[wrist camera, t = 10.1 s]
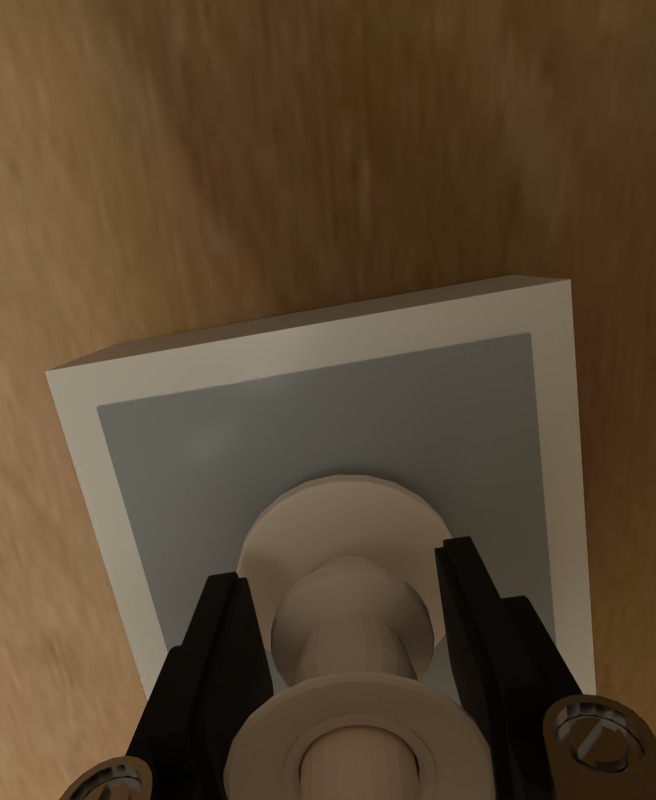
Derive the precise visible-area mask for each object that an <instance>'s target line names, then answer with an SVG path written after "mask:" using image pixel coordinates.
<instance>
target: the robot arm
mask: <svg viewBox="0 0 656 800" xmlns="http://www.w3.org/2000/svg"><path fill="white" fill-rule="evenodd" d="M434 552H435V560H436V567H437V574H438V581H439V589H440V596H441V603H442V610H443V617H444V624H445V632H446V639H447V646H448V653H449V660H450V665H451V670H452V674H453V678H454V681H455V685H456V688H457V691H458V695H459V698H460V702H461V705H462V708H463V709H464V710H465V711H466V712H467V713H468V714H469V715H470V716H472V717H473V718H474V719H475V721H476V723H477V724H478V726H479V728H480V729H481V731H482V733H483V734H484V736H485V738H486V739H487V741H488V743H489V746H490V752H491V760H492V768H493V776H494V784H495V792H496V798H495V800H656V737H655V736H654V734H653V732H652V731H651V729H650V728H649V726H648V725H647V723H646V722H645V721H644V720H643V719H642V718H641V717H640V716H638V715H637V714H636V713H635V712H634V711H633V710H631V709H629V708H628V707H626V706H624V705H623V704H621V703H619V702H617V701H614V700H611V699H608V698H605V697H602V696H597V695H588V694H583V693H582V691H581V689H580V687H579V686H578V684H577V682H576V681H575V679H574V677H573V675H572V674H571V672H570V670H569V668H568V667H567V665H566V663H565V661H564V660H563V658H562V656H561V654H560V653H559V651H558V649H557V647H556V646H555V644H554V642H553V640H552V639H551V637H550V635H549V633H548V632H547V630H546V628H545V626H544V625H543V623H542V621H541V619H540V618H539V616H538V614H537V613H536V611H535V609H534V607H533V606H532V604H531V602H530V601H529V599H528V598H527V597H526V596H525V595H521V596H515V597H508V598H501V597H500V595H499V593H498V591H497V589H496V587H495V585H494V583H493V581H492V579H491V577H490V575H489V573H488V571H487V569H486V567H485V565H484V563H483V561H482V559H481V557H480V555H479V553H478V551H477V549H476V547H475V545H474V543H473V541H472V539H471V537H470V536H465V537H458V538H452V539H445V540H443V547H440V548H435V549H434ZM273 696H274V691H273V682H272V678H271V674H270V669H269V665H268V661H267V657H266V653H265V649H264V645H263V640H262V636H261V632H260V628H259V624H258V620H257V616H256V611H255V607H254V603H253V599H252V595H251V591H250V587H249V583H248V580H247V578H246V577H242V578H239V576H238V574H237V573H236V572H228V573H222V574H215V575H210V576H208V578H207V580H206V583H205V586H204V588H203V591H202V593H201V596H200V598H199V601H198V604H197V606H196V609H195V611H194V614H193V616H192V619H191V622H190V624H189V627H188V629H187V632H186V634H185V637H184V639H183V642H182V645H178V646H174V647H172V648H171V649H170V651H169V652H168V654H167V657H166V659H165V661H164V664H163V666H162V669H161V671H160V673H159V676H158V678H157V681H156V683H155V685H154V688H153V690H152V693H151V695H150V697H149V700H148V702H147V705H146V707H145V709H144V712H143V714H142V717H141V719H140V722H139V724H138V726H137V729H136V731H135V734H134V736H133V738H132V741H131V743H130V746H129V748H128V750H127V753H126V755H125V756H122V757H116V758H112V759H109V760H107V761H104V762H102V763H99V764H97V765H96V766H94V767H93V768H91V769H89V770H88V771H86V772H85V773H83V774H82V775H81V776H80V777H79V778H78V779H77V780H76V781H74V782H73V783H72V784H71V785H70V786H69V787H68V789H67V790H66V791H65V793H64V794H63V795H62V796H61V798H60V799H59V800H228V799H227V795H226V792H225V788H224V779H223V772H224V768H225V764H226V761H227V757H228V754H229V750H230V747H231V744H232V741H233V739H234V738H235V736H236V735H237V733H238V732H239V730H240V729H241V727H242V726H243V724H244V723H245V722H246V720H247V719H248V717H249V716H250V715H251V714H252V713H253V712H254V711H256V710H257V709H258V708H259V707H261V706H262V705H263V704H264V703H265V702H267V701H268V700H269V699H270V698H271V697H273Z"/></svg>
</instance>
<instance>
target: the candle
mask: <svg viewBox="0 0 656 800" xmlns="http://www.w3.org/2000/svg"><path fill="white" fill-rule="evenodd" d="M452 538H453V537H452V536H451V534H450V532H449V530H448V528H447V527H446V525H445V523H444V521H443V520H442V518H441V516H440V515H439V514H438V513H437V512H436V511H435V510H434V509H433V508H432V507H431V506H430V505H429V504H428V503H427V502H426V501H425V500H424V499H423V498H422V497H420V496H418V495H416V494H415V493H413V492H411V491H409V490H408V489H406V488H404V487H402V486H401V485H399V484H397V483H395V482H391V481H387V480H384V479H380V478H376V477H372V476H368V475H332V476H328V477H324V478H319V479H315V480H311V481H307V482H305V483H303V484H301V485H299V486H297V487H295V488H293V489H291V490H289V491H287V492H286V493H284V494H282V495H280V496H279V497H278V498H277V499H276V500H275V501H274V502H273V503H271V504H270V505H269V506H268V507H267V508H266V509H265V510H264V511H263V512H262V513H261V514H260V515H259V516H258V518H257V520H256V521H255V523H254V524H253V526H252V528H251V529H250V531H249V533H248V534H247V536H246V538H245V541H244V544H243V548H242V551H241V555H240V559H239V562H238V566H237V570H236V573H237V574H238V576H239V578H242V577H246V578H247V580H248V583H249V587H250V591H251V595H252V599H253V603H254V607H255V611H256V616H257V620H258V624H259V628H260V632H261V636H262V640H263V645H264V648H266V649H267V650H268V651H269V652H270V653H271V654H272V657H273V660H274V663H275V666H276V669H277V671H278V672H279V674H280V675H281V677H282V678H283V679H284V681H285V682H286V684H287V685H288V686H289V687H290V688H288V689H286V690H283V691H281V692H279V693H277V694H275V695H274V696H273V697H271V698H270V699H269V700H268V701H267V702H265V703H264V704H263V705H262V706H261V707H259V708H258V709H257V710H256V711H254V712H253V713H252V714H251V715H250V716H249V717H248V719H247V720H246V722H245V723H244V724H243V726H242V727H241V729H240V730H239V732H238V733H237V735H236V736H235V738H234V739H233V741H232V744H231V747H230V750H229V754H228V757H227V761H226V764H225V768H224V772H223V779H224V788H225V792H226V795H227V799H228V800H495V798H496V792H495V784H494V776H493V768H492V760H491V752H490V746H489V743H488V741H487V739H486V738H485V736H484V734H483V733H482V731H481V729H480V728H479V726H478V724H477V723H476V721H475V719H474V718H473V717H472V716H470V715H469V714H468V713H467V712H466V711H465V710H464V709H463V708H462V707H460V706H459V705H458V704H457V703H456V702H455V701H454V700H453V699H452V698H451V697H449V696H447V695H445V694H443V693H441V692H439V691H437V690H435V689H433V688H431V687H430V686H428V685H426V684H424V683H422V682H420V680H421V679H422V677H423V676H424V675H425V673H426V672H427V670H428V667H429V664H430V662H431V659H432V657H433V651H434V647H436V645H437V644H438V643H439V641H440V640H441V639H442V637H443V636H444V635H445V633H446V632H445V624H444V617H443V610H442V603H441V596H440V589H439V581H438V574H437V567H436V560H435V552H434V549H435V548H440V547H443V540H445V539H452Z"/></svg>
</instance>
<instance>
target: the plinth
mask: <svg viewBox="0 0 656 800" xmlns="http://www.w3.org/2000/svg"><path fill="white" fill-rule="evenodd" d="M45 374H46V377H47V380H48V383H49V387H50V390H51V393H52V396H53V399H54V403H55V406H56V409H57V412H58V415H59V419H60V422H61V425H62V428H63V431H64V435H65V438H66V441H67V444H68V448H69V451H70V454H71V457H72V460H73V464H74V467H75V470H76V473H77V476H78V480H79V483H80V486H81V489H82V492H83V496H84V499H85V502H86V505H87V509H88V512H89V515H90V518H91V521H92V525H93V528H94V531H95V534H96V537H97V541H98V544H99V547H100V550H101V553H102V557H103V560H104V563H105V566H106V570H107V573H108V576H109V579H110V582H111V586H112V589H113V592H114V595H115V598H116V602H117V605H118V608H119V611H120V614H121V618H122V621H123V624H124V627H125V631H126V634H127V637H128V640H129V643H130V647H131V650H132V653H133V656H134V659H135V663H136V666H137V669H138V672H139V675H140V679H141V682H142V685H143V688H144V692H145V695H146V698H147V701H148V700H149V697H150V695H151V693H152V690H153V688H154V685H155V683H156V681H157V678H158V676H159V673H160V671H161V669H162V666H163V664H164V661H165V659H166V657H167V654H168V652H169V651H170V649H171V648H172V647H174V646H178V645H182V642H183V639H184V637H185V634H186V632H187V629H188V627H189V624H190V622H191V619H192V616H193V614H194V611H195V609H196V606H197V604H198V601H199V598H200V596H201V593H202V591H203V588H204V586H205V583H206V580H207V578H208V576H210V575H215V574H222V573H228V572H236V570H237V566H238V562H239V559H240V555H241V551H242V548H243V544H244V541H245V538H246V536H247V534H248V533H249V531H250V529H251V528H252V526H253V524H254V523H255V521H256V520H257V518H258V516H259V515H260V514H261V513H262V512H263V511H264V510H265V509H266V508H267V507H268V506H269V505H270V504H271V503H273V502H274V501H275V500H276V499H277V498H278V497H279V496H280V495H282V494H284V493H286V492H287V491H289V490H291V489H293V488H295V487H297V486H299V485H301V484H303V483H305V482H307V481H311V480H315V479H319V478H324V477H328V476H332V475H368V476H372V477H376V478H380V479H384V480H387V481H391V482H395V483H397V484H399V485H401V486H402V487H404V488H406V489H408V490H409V491H411V492H413V493H415V494H416V495H418V496H420V497H422V498H423V499H424V500H425V501H426V502H427V503H428V504H429V505H430V506H431V507H432V508H433V509H434V510H435V511H436V512H437V513H438V514H439V515H440V516H441V518H442V520H443V521H444V523H445V525H446V527H447V528H448V530H449V532H450V534H451V536H452V537H453V538H458V537H465V536H470V537H471V539H472V541H473V543H474V545H475V547H476V549H477V551H478V553H479V555H480V557H481V559H482V561H483V563H484V565H485V567H486V569H487V571H488V573H489V575H490V577H491V579H492V581H493V583H494V585H495V587H496V589H497V591H498V593H499V595H500V597H501V598H508V597H515V596H521V595H525V596H526V597H527V598H528V599H529V601H530V602H531V604H532V606H533V607H534V609H535V611H536V613H537V614H538V616H539V618H540V619H541V621H542V623H543V625H544V626H545V628H546V630H547V632H548V633H549V635H550V637H551V639H552V640H553V642H554V644H555V646H556V647H557V649H558V651H559V653H560V654H561V656H562V658H563V660H564V661H565V663H566V665H567V667H568V668H569V670H570V672H571V674H572V675H573V677H574V679H575V681H576V682H577V684H578V686H579V687H580V689H581V691H582V693H583V694H588V695H596V684H595V668H594V652H593V636H592V619H591V603H590V587H589V571H588V554H587V538H586V522H585V506H584V489H583V473H582V457H581V441H580V424H579V408H578V392H577V376H576V359H575V343H574V327H573V311H572V294H571V279H560V278H547V277H534V276H521V275H507V276H502V277H496V278H490V279H485V280H479V281H473V282H468V283H462V284H456V285H451V286H445V287H439V288H434V289H428V290H422V291H417V292H411V293H405V294H400V295H394V296H388V297H383V298H377V299H371V300H366V301H360V302H354V303H349V304H343V305H337V306H332V307H326V308H320V309H315V310H309V311H303V312H298V313H292V314H286V315H281V316H275V317H269V318H264V319H258V320H252V321H247V322H241V323H235V324H230V325H224V326H218V327H213V328H207V329H201V330H196V331H190V332H184V333H179V334H173V335H167V336H162V337H156V338H150V339H145V340H139V341H133V342H128V343H122V344H116V345H112V346H109V347H107V348H104V349H102V350H99V351H96V352H94V353H91V354H89V355H86V356H83V357H81V358H78V359H76V360H73V361H70V362H68V363H65V364H63V365H60V366H57V367H55V368H52V369H50V370H47V371H45ZM264 649H265V653H266V657H267V661H268V665H269V669H270V674H271V678H272V682H273V691H274V695H275V694H277V693H279V692H281V691H283V690H286V689H288V688H290V687H289V686H288V685H287V684H286V682H285V681H284V679H283V678H282V677H281V675H280V674H279V672H278V671H277V669H276V666H275V663H274V660H273V657H272V654H271V653H270V652H269V651H268V650H267V649H266V648H264ZM420 682H422V683H424V684H426V685H428V686H430V687H431V688H433V689H435V690H437V691H439V692H441V693H443V694H445V695H447V696H449V697H451V698H452V699H453V700H454V701H455V702H456V703H457V704H458V705H459V706H460V707H462V705H461V702H460V698H459V695H458V691H457V688H456V685H455V681H454V678H453V674H452V670H451V665H450V660H449V653H448V646H447V639H446V633H445V635H444V636H443V637H442V639H441V640H440V641H439V643H438V644H437V645H436V647H434V651H433V657H432V659H431V662H430V664H429V667H428V670H427V672H426V673H425V675H424V676H423V677H422V679H421V680H420Z"/></svg>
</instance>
